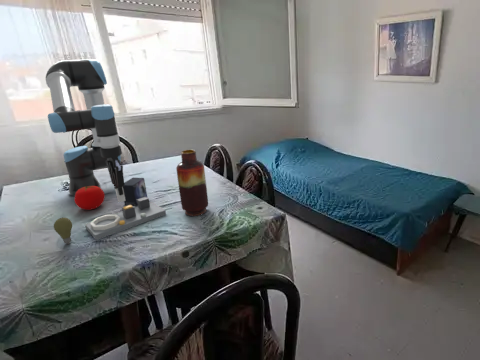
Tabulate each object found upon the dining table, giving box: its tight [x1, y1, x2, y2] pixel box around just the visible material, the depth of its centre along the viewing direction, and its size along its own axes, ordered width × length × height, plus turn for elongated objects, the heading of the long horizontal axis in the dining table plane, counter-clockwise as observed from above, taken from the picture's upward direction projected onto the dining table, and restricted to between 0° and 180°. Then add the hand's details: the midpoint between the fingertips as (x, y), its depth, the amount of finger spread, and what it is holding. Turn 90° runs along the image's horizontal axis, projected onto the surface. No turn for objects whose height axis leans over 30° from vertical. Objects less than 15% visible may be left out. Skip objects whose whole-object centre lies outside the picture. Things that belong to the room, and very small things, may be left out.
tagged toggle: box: [121, 205, 136, 219], centre depth 119 cm, size 3×4×4 cm
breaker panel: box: [84, 201, 167, 241], centre depth 120 cm, size 13×28×4 cm, turn 131°
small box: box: [123, 177, 148, 207], centre depth 138 cm, size 11×6×10 cm, turn 168°
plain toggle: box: [137, 196, 150, 210], centre depth 127 cm, size 3×4×4 cm
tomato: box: [73, 185, 105, 210], centre depth 135 cm, size 11×12×10 cm
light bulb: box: [53, 217, 73, 245], centre depth 105 cm, size 6×6×10 cm
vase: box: [175, 149, 209, 217], centre depth 121 cm, size 11×11×26 cm
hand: (121, 201), depth 123 cm, fingers closed
